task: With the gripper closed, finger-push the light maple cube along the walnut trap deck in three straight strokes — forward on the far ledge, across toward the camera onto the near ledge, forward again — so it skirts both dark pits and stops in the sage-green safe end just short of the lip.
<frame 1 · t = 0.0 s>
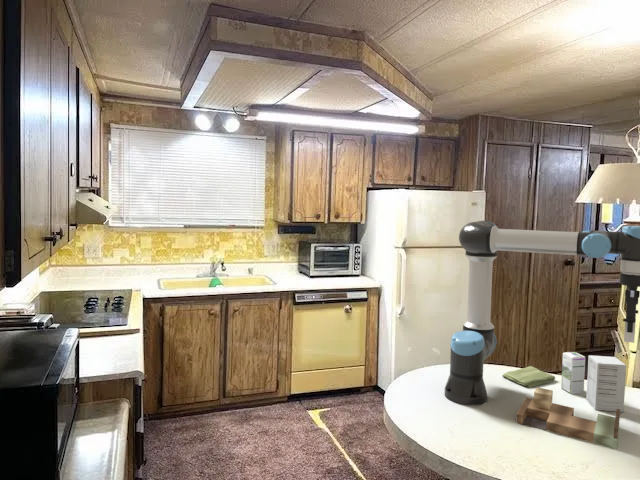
hand: (629, 336, 155), 28 cm above the table, fingers open, 13 cm apart
washcloth: (528, 380, 191), on the table
supplement box: (604, 406, 167), on the table
syrup box: (572, 391, 180), on the table
maple block: (542, 405, 160), point 3 cm above the table, touching trap deck
trap deck: (567, 425, 152), on the table
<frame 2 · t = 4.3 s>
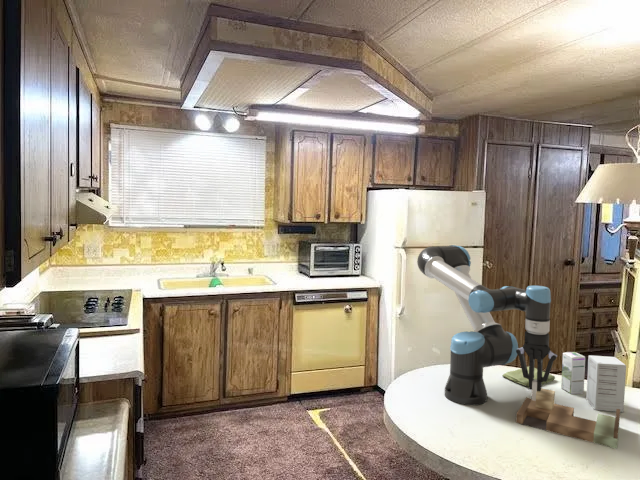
hand: (534, 399, 161), 5 cm above the table, fingers closed
maple block: (544, 406, 160), point 3 cm above the table, touching gripper
everything else where it was.
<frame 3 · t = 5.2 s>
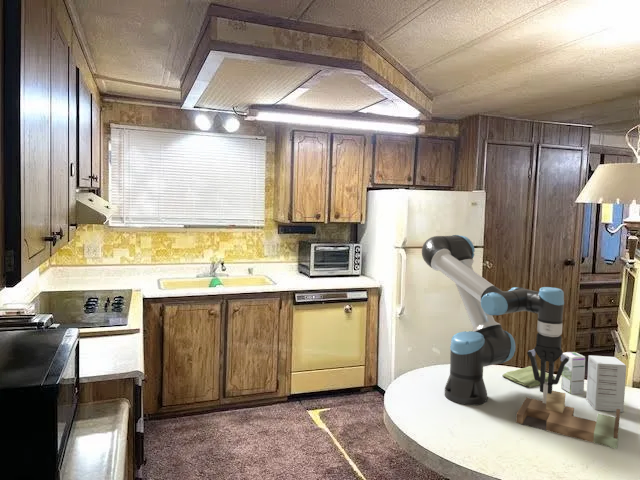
hand: (545, 401, 159), 5 cm above the table, fingers closed
maple block: (555, 408, 158), point 3 cm above the table, touching gripper, trap deck
everything else where it was.
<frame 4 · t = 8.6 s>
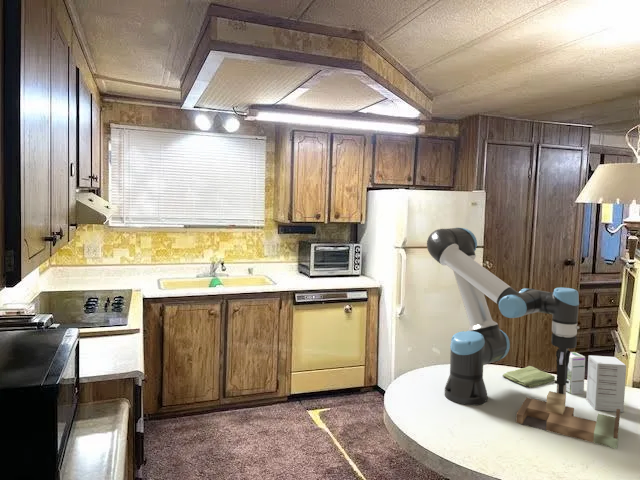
hand: (560, 401, 160), 4 cm above the table, fingers closed
maple block: (555, 409, 157), point 3 cm above the table, touching gripper
everything else where it was.
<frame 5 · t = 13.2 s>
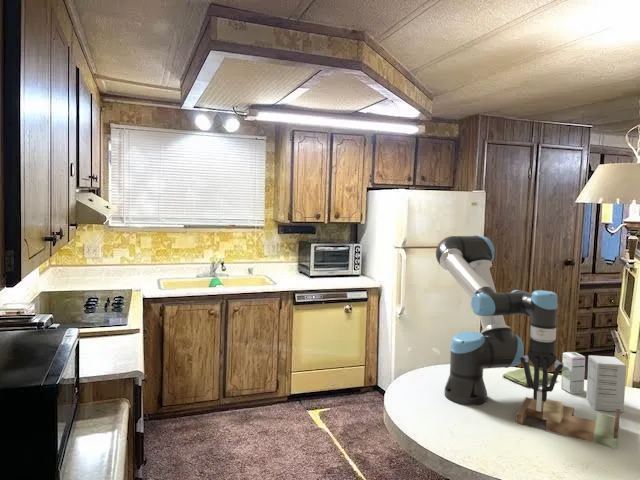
hand: (539, 409, 153), 5 cm above the table, fingers closed
maple block: (552, 418, 151), point 3 cm above the table, touching gripper
everything else where it was.
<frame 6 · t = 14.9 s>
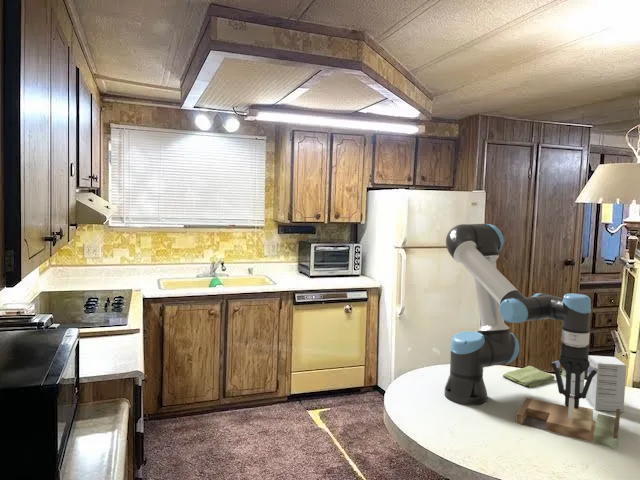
hand: (571, 417, 148), 5 cm above the table, fingers closed
maple block: (582, 425, 146), point 3 cm above the table, touching gripper, trap deck
everything else where it was.
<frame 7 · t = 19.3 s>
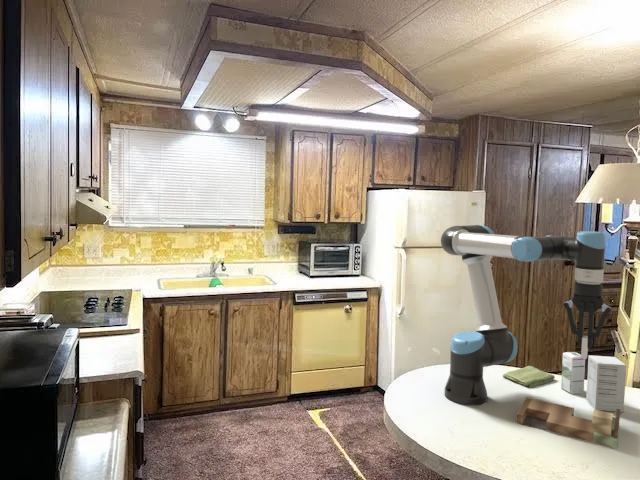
hand: (584, 357, 145), 24 cm above the table, fingers closed
maple block: (601, 430, 143), point 3 cm above the table, touching trap deck
everything else where it was.
at the end: maple block inside the target area on the trap deck (0.8 cm from its centre), point 3.0 cm above the trap deck's base; maple block tilted 0° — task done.
